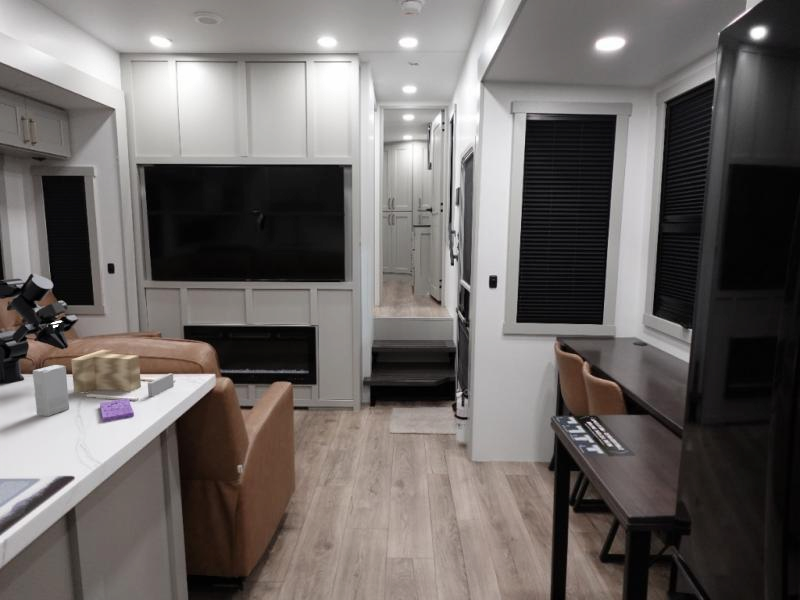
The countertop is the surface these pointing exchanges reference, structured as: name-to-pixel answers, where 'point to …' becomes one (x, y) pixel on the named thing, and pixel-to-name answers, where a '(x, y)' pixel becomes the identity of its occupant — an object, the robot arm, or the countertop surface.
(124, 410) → the sponges
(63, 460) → the countertop surface
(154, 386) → the tray
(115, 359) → the t block
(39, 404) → the skincare box
